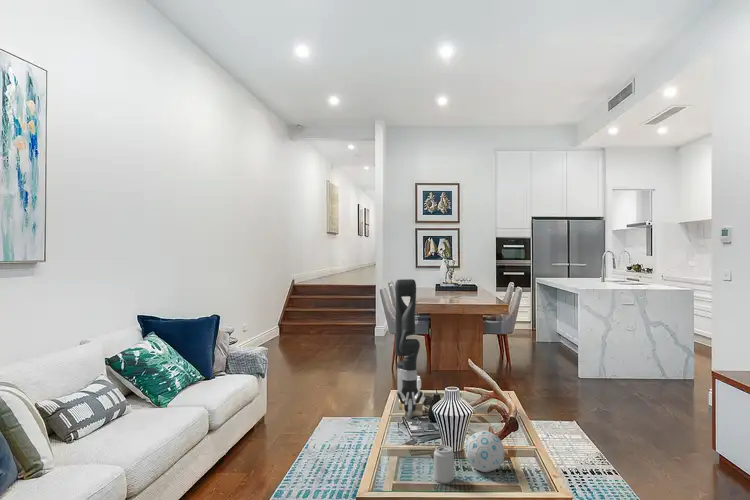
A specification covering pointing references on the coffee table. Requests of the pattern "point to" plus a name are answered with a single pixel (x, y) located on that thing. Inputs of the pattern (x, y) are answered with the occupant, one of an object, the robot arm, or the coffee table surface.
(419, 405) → the hole block
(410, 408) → the long pin
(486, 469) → the puzzle ball
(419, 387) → the figurine
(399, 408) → the short pin
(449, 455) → the can
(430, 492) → the coffee table surface
